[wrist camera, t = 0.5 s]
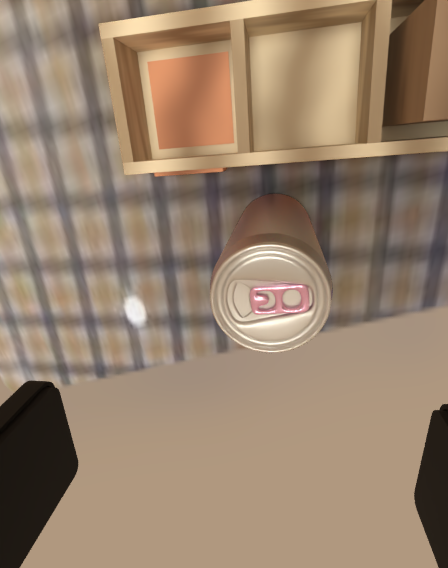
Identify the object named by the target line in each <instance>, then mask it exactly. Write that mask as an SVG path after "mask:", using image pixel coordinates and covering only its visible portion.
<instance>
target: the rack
mask: <svg viewBox="0 0 448 568" xmlns="http://www.w3.org/2000/svg"><path fill="white" fill-rule="evenodd" d="M424 1H425V0H252V1H246V2H239V3H233V4H226V5H219V6H213V7H206V8H200V9H193V10H187V11H180V12H173V13H167V14H160V15H154V16H147V17H140V18H134V19H127V20H121V21H114V22H108V23H101V24H99V29H100V35H101V41H102V47H103V52H104V58H105V64H106V69H107V75H108V81H109V87H110V92H111V98H112V104H113V110H114V115H115V121H116V127H117V132H118V138H119V144H120V150H121V155H122V161H123V167H124V173H125V175H129V174H143V173H154V174H155V176H168V175H182V174H196V173H210V172H223V171H225V170H227V169H228V167H237V166H251V165H265V164H278V163H292V162H305V161H319V160H332V159H346V158H360V157H373V156H387V155H400V154H414V153H427V152H441V151H448V121H443V122H431V123H420V124H408V125H397V126H385V127H382V122H383V109H384V97H385V84H386V72H387V59H388V47H389V35H390V34H391V33H392V32H393V31H394V30H395V29H396V28H397V27H398V26H399V25H400V24H401V23H402V22H403V21H404V20H405V19H406V18H407V17H408V16H409V15H410V14H411V13H412V12H413V11H414V10H415V9H416V8H417V7H418V6H419V5H420V4H421V3H423V2H424Z"/></svg>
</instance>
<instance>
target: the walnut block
mask: <svg viewBox="0 0 448 568" xmlns="http://www.w3.org/2000/svg"><path fill="white" fill-rule="evenodd" d="M443 121H448V0H425V1H424V2H423V3H421V4H420V5H419V6H418V7H417V8H416V9H415V10H414V11H413V12H412V13H411V14H410V15H409V16H408V17H407V18H406V19H405V20H404V21H403V22H402V23H401V24H400V25H399V26H398V27H397V28H396V29H395V30H394V31H393V32H392V33H391V34H390V35H389V47H388V59H387V72H386V84H385V97H384V109H383V122H382V127H385V126H397V125H408V124H420V123H431V122H443Z"/></svg>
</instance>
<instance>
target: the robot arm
mask: <svg viewBox="0 0 448 568" xmlns="http://www.w3.org/2000/svg"><path fill="white" fill-rule="evenodd" d="M77 469H78V458H77V455H76V451H75V447H74V444H73V440H72V437H71V433H70V429H69V425H68V422H67V418H66V414H65V410H64V406H63V403H62V399H61V395H60V392H59V390H58V389H57V388H55V386H54V384H53V383H52V382H46V381H27V382H26V383H24V384H23V385H22V386H21V387H20V388H19V389H18V390H17V391H16V392H15V393H14V394H13V395H12V396H11V397H10V398H9V399H8V400H6V401H5V402H4V403H3V404H2V405H1V406H0V568H19V567H20V566H21V564H22V563H23V561H24V559H25V558H26V556H27V555H28V553H29V551H30V550H31V548H32V546H33V545H34V543H35V541H36V539H37V538H38V536H39V535H40V533H41V531H42V530H43V528H44V526H45V525H46V523H47V521H48V520H49V518H50V516H51V515H52V513H53V512H54V510H55V508H56V506H57V505H58V503H59V501H60V500H61V498H62V497H63V495H64V493H65V492H66V490H67V488H68V487H69V485H70V483H71V482H72V480H73V478H74V477H75V475H76V472H77ZM414 494H415V495H414V497H415V504H416V508H417V511H418V514H419V517H420V519H421V522H422V524H423V527H424V530H425V533H426V535H427V538H428V540H429V543H430V546H431V548H432V551H433V553H434V556H435V559H436V561H437V564H438V567H439V568H448V404H443V405H442V406H441V407H440V410H434V411H433V413H432V416H431V420H430V425H429V429H428V433H427V438H426V442H425V447H424V451H423V456H422V460H421V465H420V469H419V474H418V479H417V483H416V487H415V493H414Z"/></svg>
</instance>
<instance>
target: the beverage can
mask: <svg viewBox="0 0 448 568" xmlns="http://www.w3.org/2000/svg"><path fill="white" fill-rule="evenodd" d="M332 293H333V287H332V279H331V275H330V272H329V269H328V266H327V264H326V261H325V258H324V256H323V253H322V250H321V248H320V245H319V242H318V240H317V237H316V234H315V232H314V229H313V226H312V224H311V221H310V218H309V216H308V214H307V212H306V210H305V208H304V207H303V206H302V205H301V204H300V203H299V202H298V201H297V200H295V199H294V198H292V197H289V196H287V195H283V194H268V195H264V196H261V197H259V198H257V199H255V200H254V201H253V202H251V203H250V204H249V205H248V206H247V207H246V209H245V210H244V212H243V214H242V216H241V218H240V219H239V221H238V223H237V225H236V227H235V229H234V231H233V233H232V235H231V237H230V239H229V240H228V242H227V244H226V246H225V248H224V250H223V252H222V254H221V256H220V258H219V260H218V262H217V263H216V265H215V268H214V270H213V273H212V277H211V283H210V302H211V308H212V312H213V315H214V317H215V319H216V321H217V323H218V325H219V326H220V328H221V329H222V330H223V331H224V333H225V334H226V335H227V336H228V337H230V338H231V339H232V340H233V341H235V342H236V343H238V344H240V345H242V346H244V347H246V348H248V349H251V350H254V351H259V352H265V353H278V352H285V351H289V350H292V349H295V348H298V347H300V346H302V345H304V344H305V343H307V342H308V341H310V340H311V339H312V338H313V337H315V336H316V335H317V334H318V332H319V331H320V330H321V329H322V327H323V326H324V324H325V322H326V320H327V318H328V315H329V312H330V308H331V300H332Z"/></svg>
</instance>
